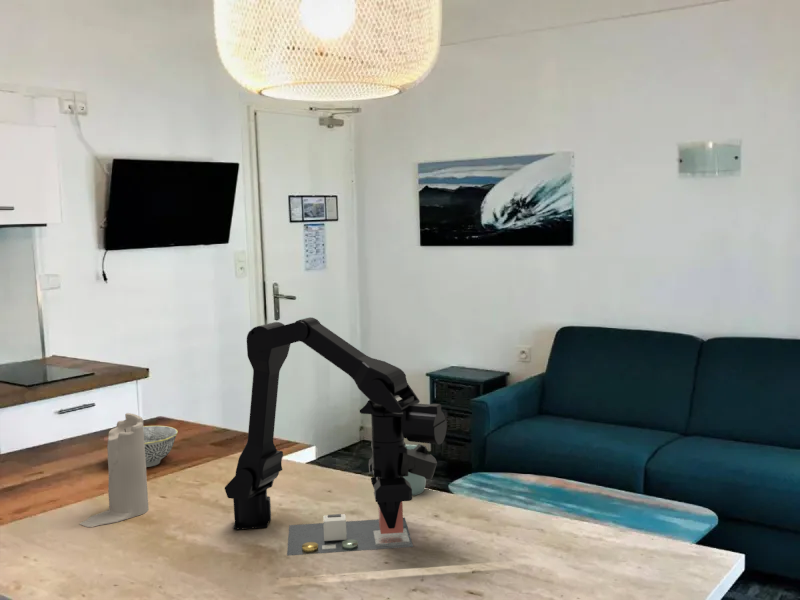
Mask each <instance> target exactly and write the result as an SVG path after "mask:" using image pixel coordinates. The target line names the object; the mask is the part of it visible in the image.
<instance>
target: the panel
mask: <svg viewBox="0 0 800 600" xmlns="http://www.w3.org/2000/svg"><path fill="white" fill-rule="evenodd" d="M346 536H347V540H332V541H324V523H323V522H321V523H320V522H319V523H304V524H303V523H302V524H289V526H288V538H287V547H286V548H287V549H286V556H289V557H290V556H300V555H301V556H303V555H313V554H314V555H315V554H317V555H318V554H329V553H342V552H343V553H346V552H359V551H360V552H361V551H372V550H375V551H376V550H384V549H385V550H387V549H401V548H403V549H404V548H413V547H414V545H413V541H412V537H411V534H410V531H409V527H408V524H407V521H406V518H405V517H403V533H388V534H381V532H380V527H379V518H378V519H367V520H363V519H362V520H349V521H347V520H346Z"/></svg>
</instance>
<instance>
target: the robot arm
mask: <svg viewBox="0 0 800 600" xmlns="http://www.w3.org/2000/svg"><path fill="white" fill-rule="evenodd" d="M298 342H301V343H303V344H304V345H305V346H308V348H310V349H311V350H313V351H314V352H316V353H317V354H318V355H320V356H321V357H323V358H324V359H325V360H327V361H329V362H330V363H332V364H333V366H335V367H336V368H338V369H340V370H341V371H343V372H344V373H345V374H347V375H348V376H349V377H350V378H351V379H352V380H353V381H354V383H355V385H356V386H357V388H358V390H359V391H360V392H361V393H362V394H363V395H364V396H365V397H366V398H368V400H367V402H366V404H365V405H364V406H363V407H362V408H360V409H359V414H361V415H362V414H363V415H370V419H371V422H370V424H371V442H370V443H371V446H370V447H371V450H372V451H371V452H372V454H371V455H372V456H371V458H369V459H368V472H369V475H373V476H372V477H370V480H371V485H372V487H373V491H374V492H373V496H374V500H375V503H377V505H378V509H379V508H380V510H381V512H382V514H383V517H384V519H385V521H386V523H387V526H388V528H389V529H391V528H395V524H396V520H397V515H398V510H399V506H400V503H401V501H402V502H411V501H413V495H412V488H411V485H410V483H409V482H408V481H407V480H406V479H405V478H404V477H403V476H408V472H410V473H412V474H416V475H419V476H423V477H425V478H426V480H433V476H434V474H435V471H436V468H437V465H438V462H437V459H436V458H435V456H433V455H432V454H429V453H428V448H427V446H426V445H424V444H430V445H431V444H432V445H441V444H443V443H444V440H445V438H446V435H447V430H448V429H447V428H448V427H447V426H448V424H447V423H448V422H447V419H446V416H445V412H443V411H442V404H441V403H430V404H427V403H420V402H421V401H420V399H419V398H418V396H417V395H416V394H415V391H414V390H413V389H412V388H411V385H410V384H409V383H408V380H407V378H406V377H407V375H406V373H405V372H404V371H403V370H402V369H401V368H399V367H398V366H396V365H393V364H391V363H388V362H386V361H384V360H381V359H377V358H372V357H371V356H368V355H367V354H365V353H363V352H362V351H360V350H359V349H358V348H356V347H355V346H354V345H352V344H351V343H349V342H348V341H346V340H344V339H343V338H342V337H341V336H339V335H338V334H336V333H335V332H334V331H332V330H330V329H329V328H327V327H326V326H325V325H323V324H321V322H320V321H319V320H318V319H317V318H315V317H305V318H301V319H299V320H296V321H295V322H291V323H288V324H285V323H282V322H280V321H279V322H278V321H275V322H269V323H266V324H265V323H264V324H262V325H257V326H255V327H253V328H252V329H250V330H249V331H248V332H247V335H246V350H247V355H246V356H247V358H248V360H249V363H250V365H251V368H252V369H253V371H252V382H251V383H252V385H251V397H250V407H249V408H250V409H249V418H248V431H247V432H248V433H247V440H246V441H247V442H246V444H245V446H244V448H243V450H242V451H241V454H240V455H239V458H238V462H237V465H236V469H235V475H234V476H233V478H232V479H230V481H229V482H228V483H227V484H226V485H225V486H224V491H225V494H226V497H227V498H228V499H233V500H232V501H233V513H234V514H233V518H234V519H233V520H234V521H233V522H234V524H233V527H232V528H233V530H249V529H263V528H267V527H269V522H270V521H271V520H272V519H271V518H272V510H271V509H272V507H271V496H268V489H270V488H272V487H273V484H274V481H275V480H276V479H277V478H278V477H279V475H280V472H281V471H283V466H282V462H283V460H282V459H283V456H284V451H282V450H278V449H277V448H276V445H275V444H274V435H275V434H274V433H275V425H276V424H275V422H276V414H277V413H276V411H277V402H278V391H279V381H280V380H279V379H280V371H281V369H282V367H283V365H284V363H285V361H286V359H287V357H288V356H289V351H290V347H291V344H293V343H294V344H295V343H298ZM398 398H401V399H399V400H397V399H398ZM405 439H406V440H407V441H408V442H412V443H418V444H416V445H417V446H416V447H415V448H414V449H411V450H410V449H407V447H405V445H406V443H405ZM420 443H423V444H420Z"/></svg>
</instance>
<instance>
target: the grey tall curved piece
mask: <svg viewBox="0 0 800 600" xmlns="http://www.w3.org/2000/svg"><path fill="white" fill-rule="evenodd" d="M124 418H125V419H124V420H118V421H117V423H116V426H115V427H113V428H112V429H110V430H109V432H108V438H107V448H106V449H107V464H108V465H107V467H108V484H107V485H108V486H107V487H108V489H107V490H108V505H109V507H108V508H109V509H107V510H104V511H102V512H99V513H97V514H93V515H91V516H90V517H88V518H87V519H86V520H84V521H82V522H79V525H82V526H83V527H85V528H92V527H98V526H101V525H110V524H114V523H119V522H122V521H125V520H126V521H127V520H128V519H132V518H135V517H138V516H141V515H143V514H146V513H147V512H148V511H149V496H148V481H147V478H148V477H147V467H146V458H145V444H144V428H143V426H144V419H143V417H141V416H140V415H138V414H135V413H131V412H130V413H129V412H126V413H125V417H124Z"/></svg>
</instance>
